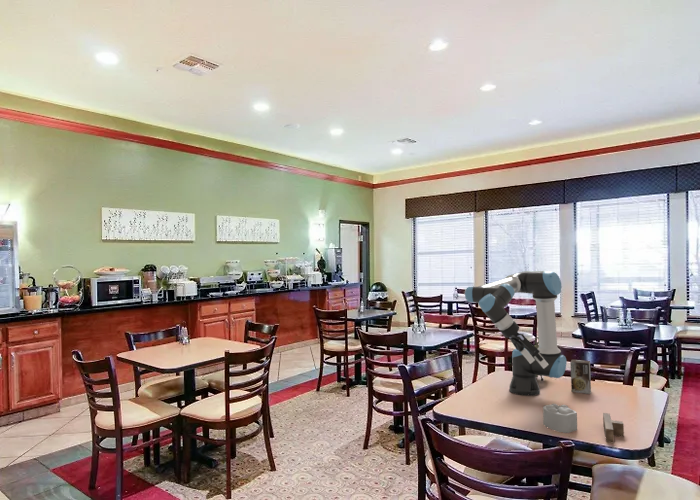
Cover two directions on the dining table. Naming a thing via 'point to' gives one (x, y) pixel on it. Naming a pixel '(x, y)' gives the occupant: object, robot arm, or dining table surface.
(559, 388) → the dining table surface
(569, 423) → the lumpy-topped squat cylinder
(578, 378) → the coffee box
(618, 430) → the t stop
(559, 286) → the robot arm
